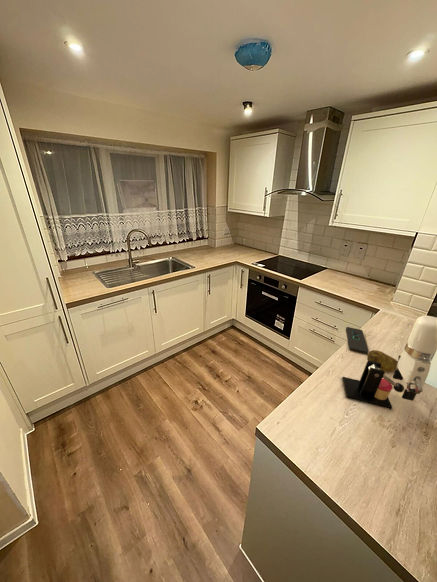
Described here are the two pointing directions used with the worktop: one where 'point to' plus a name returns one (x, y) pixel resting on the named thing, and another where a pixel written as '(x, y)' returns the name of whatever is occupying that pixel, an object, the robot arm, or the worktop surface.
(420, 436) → the worktop surface
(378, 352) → the potato
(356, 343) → the smart home device
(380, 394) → the cake
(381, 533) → the worktop surface
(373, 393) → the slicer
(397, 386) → the black ball knob
